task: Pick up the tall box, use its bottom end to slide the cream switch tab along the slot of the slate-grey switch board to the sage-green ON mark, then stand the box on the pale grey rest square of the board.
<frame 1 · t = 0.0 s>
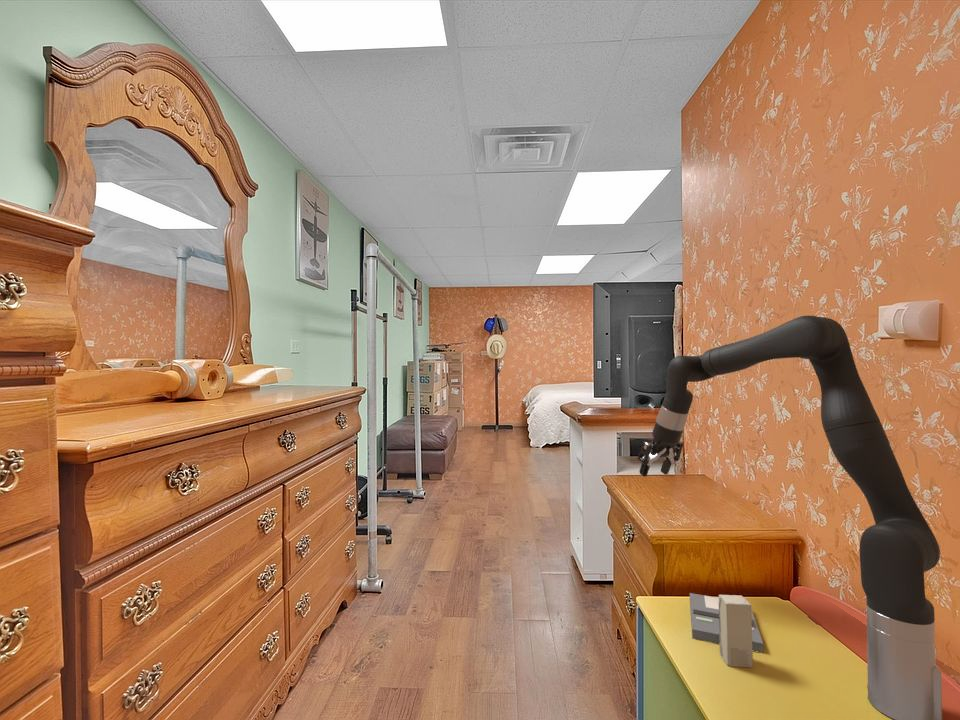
hand: (653, 474, 136), 31 cm above the table, tool tilted 20°, fingers open, 8 cm apart
box: (735, 662, 98), on the table
switch board: (722, 624, 113), on the table
tab: (737, 611, 111), point 4 cm above the table, slide at 0.0 cm
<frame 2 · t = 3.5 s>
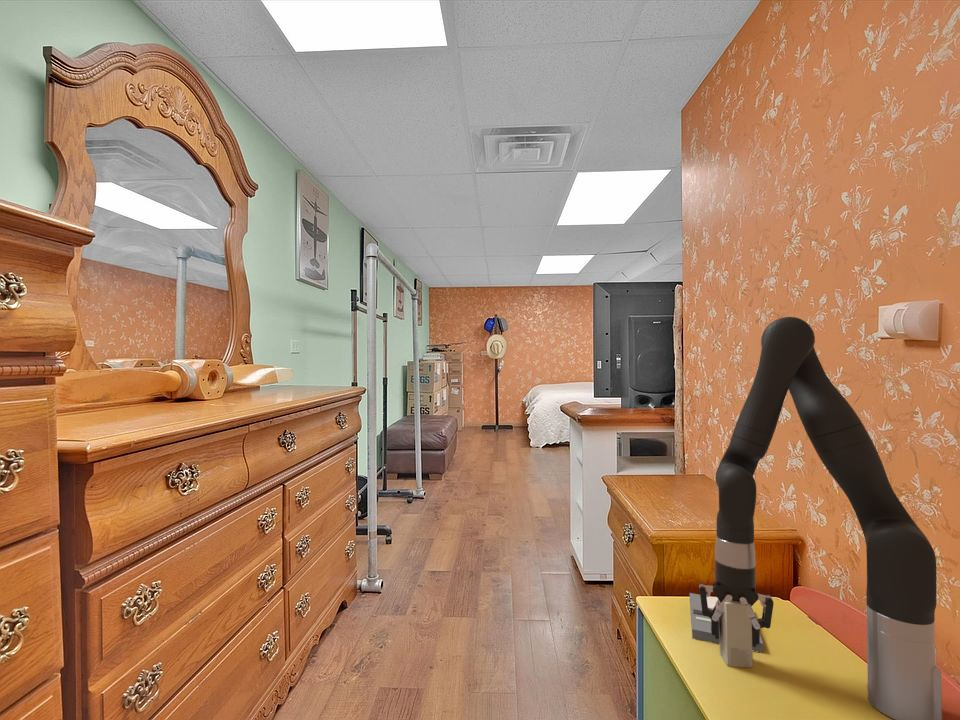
hand: (734, 640, 98), 4 cm above the table, tool pointing down, fingers closed on box, 6 cm apart
box: (735, 662, 98), on the table, touching gripper
everything else where it was.
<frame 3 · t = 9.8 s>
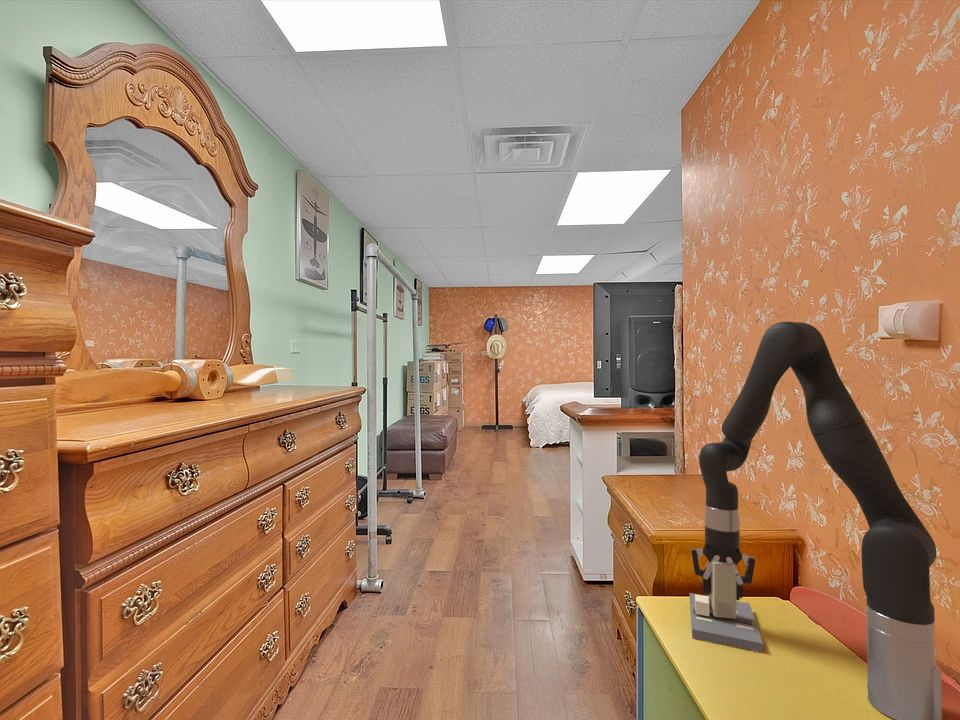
hand: (722, 596, 113), 7 cm above the table, tool pointing down, fingers closed on box, 6 cm apart
box: (721, 614, 113), point 3 cm above the table, touching gripper, tab
tab: (702, 605, 114), point 4 cm above the table, slide at 7.6 cm, touching box
when the fingers open (7 cm above the table, at t = 14.0 s): box stays where it is, resting on switch board.
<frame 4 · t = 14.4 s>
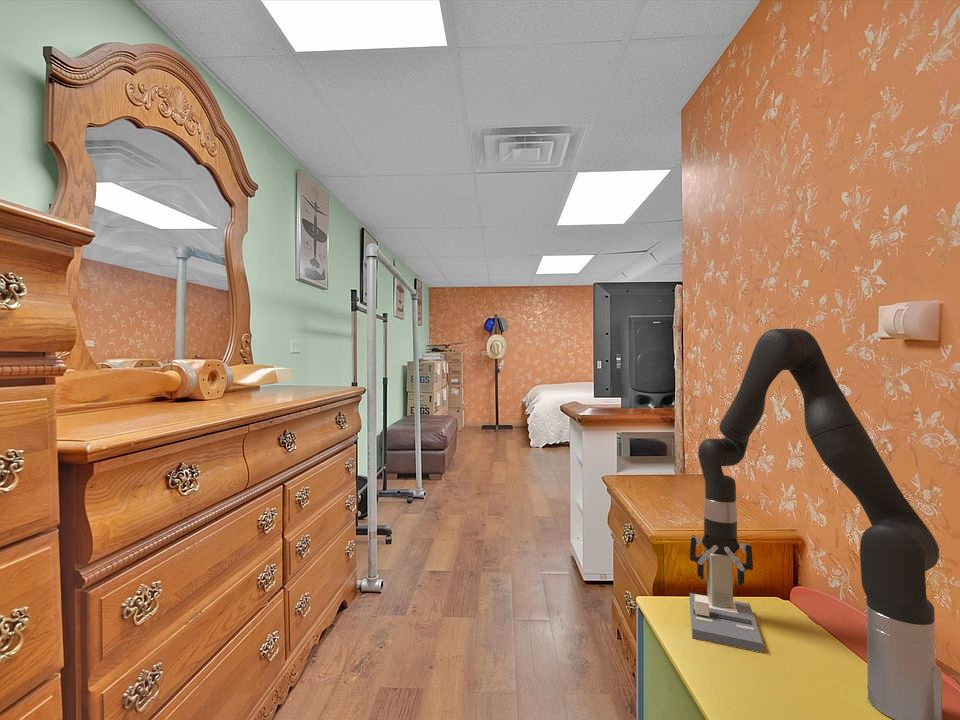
hand: (720, 581, 119), 8 cm above the table, tool pointing down, fingers open, 8 cm apart
box: (719, 604, 119), point 2 cm above the table, touching switch board
tab: (701, 605, 114), point 4 cm above the table, slide at 7.6 cm
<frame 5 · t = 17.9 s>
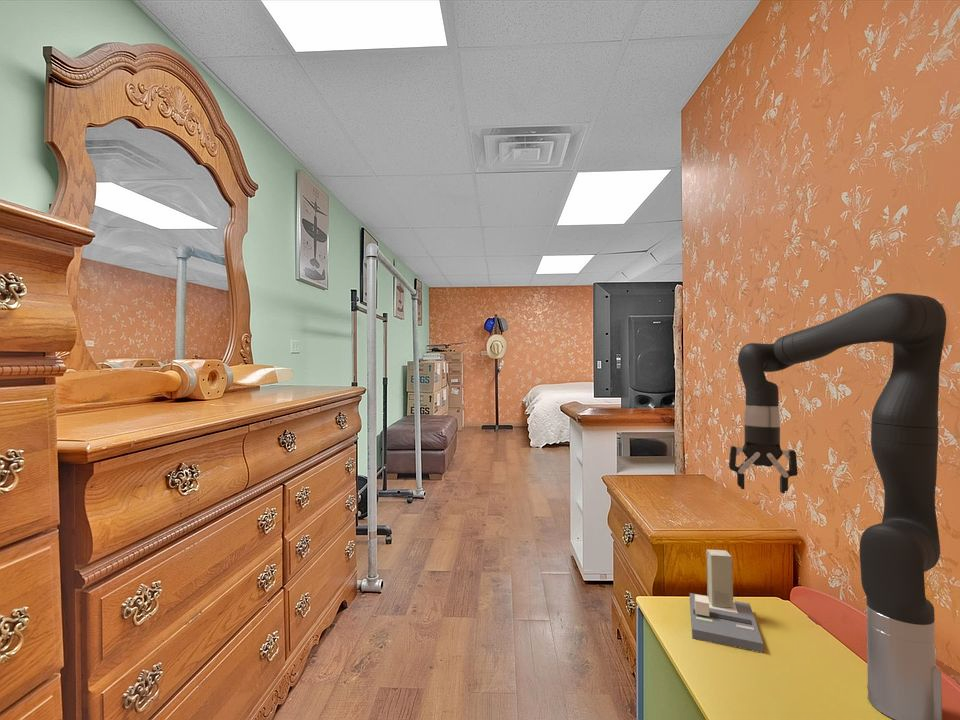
hand: (762, 490, 115), 32 cm above the table, tool pointing down, fingers open, 8 cm apart
nothing on the table moved.
at the end: tab slide at 7.6 cm; box inside the target area (0.2 cm from its centre), point 2.0 cm above the table; box tilted 0° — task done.
